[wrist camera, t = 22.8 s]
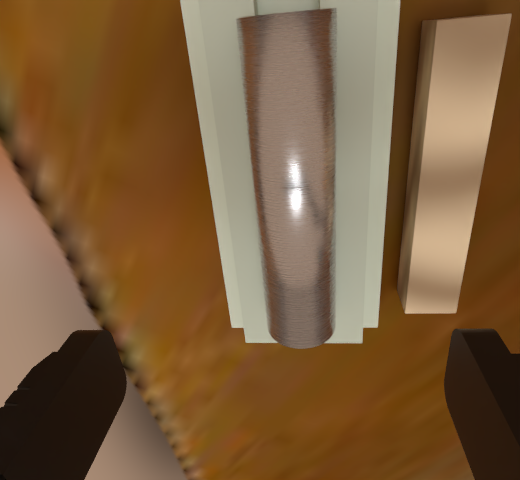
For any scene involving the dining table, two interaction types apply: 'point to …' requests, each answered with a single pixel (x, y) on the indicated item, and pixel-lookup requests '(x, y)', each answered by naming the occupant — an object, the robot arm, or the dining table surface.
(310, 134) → the axle
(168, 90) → the dining table surface
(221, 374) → the dining table surface
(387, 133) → the grooved block
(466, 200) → the wooden blocks
